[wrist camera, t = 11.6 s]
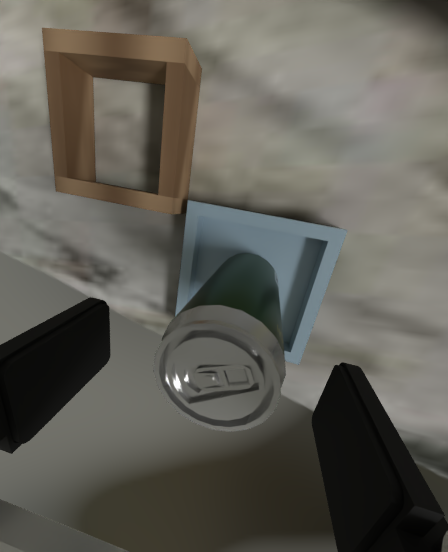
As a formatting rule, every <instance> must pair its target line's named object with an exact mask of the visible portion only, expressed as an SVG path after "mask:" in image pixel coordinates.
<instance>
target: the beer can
mask: <svg viewBox="0 0 448 552" xmlns="http://www.w3.org/2000/svg"><path fill="white" fill-rule="evenodd" d="M153 371H154V374H155V378H156V382H157V386H158V388H159V389H160V391H161V393H162V394H163V396H164V398H165V399H166V401H167V402H168V403H169V404H170V405H171V406H172V407H173V408H174V409H175V410H176V411H177V412H178V413H179V414H181V415H182V416H184V417H186V418H187V419H189V420H190V421H192V422H194V423H196V424H198V425H201V426H204V427H207V428H210V429H213V430H221V431H231V432H232V431H239V430H246V429H250V428H252V427H254V426H256V425H258V424H260V423H262V422H264V421H265V420H266V419H267V418H268V417H269V416H270V415H271V414H272V413H273V412H274V411H275V409H276V406H277V404H278V401H279V398H280V395H281V387H282V384H283V381H284V378H285V376H286V369H285V354H284V343H283V332H282V321H281V309H280V298H279V287H278V277H277V274H276V272H275V270H274V268H273V267H272V265H271V264H270V263H269V262H268V261H267V260H265V259H264V258H262V257H260V256H259V255H255V254H251V253H242V254H237V255H234V256H232V257H230V258H228V259H227V260H226V261H225V262H224V263H223V264H222V265H221V266H220V267H219V268H218V269H217V270H216V271H215V273H214V274H213V275H212V276H211V277H210V278H209V279H208V280H207V282H206V283H205V284H204V285H203V286H202V287H201V288H200V289H199V291H198V292H197V293H196V294H195V295H194V296H193V297H192V298H191V300H190V301H189V302H188V303H187V304H186V305H185V306H184V307H183V309H182V310H181V311H180V312H179V313H178V314H177V315H176V316H175V318H174V319H173V320H172V321H171V322H170V323H169V325H168V327H167V329H166V331H165V333H164V335H163V337H162V342H161V344H160V346H159V348H158V350H157V352H156V353H155V359H154V370H153Z"/></svg>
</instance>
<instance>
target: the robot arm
mask: <svg viewBox="0 0 448 552" xmlns="http://www.w3.org/2000/svg"><path fill="white" fill-rule="evenodd" d="M109 358H110V321H109V306H108V305H107V303H106V302H105V301H104V300H100V299H96V298H88V299H86V300H84V301H82V302H80V303H78V304H77V305H75V306H73V307H71V308H69V309H67V310H66V311H63V312H61V313H60V314H58V315H56V316H54V317H52V318H50V319H48V320H46V321H45V322H43V323H41V324H39V325H37V326H35V327H34V328H31V329H30V330H28V331H26V332H24V333H22V334H20V335H18V336H16V337H14V338H13V339H11V340H9V341H7V342H5V343H3V344H1V345H0V450H3V451H6V452H8V453H11V454H12V453H13V452H14V451H15V450H16V449H17V448H18V447H19V446H20V445H21V444H24V443H26V442H28V441H29V440H31V439H32V438H33V437H34V436H35V435H36V434H37V433H38V432H39V431H40V430H41V429H42V428H43V427H44V426H45V425H46V424H47V423H48V422H49V421H50V420H51V419H52V418H53V417H54V416H55V415H56V414H57V413H58V412H59V411H60V410H61V409H62V408H63V407H64V406H65V405H66V404H67V403H68V402H69V401H70V400H71V399H72V398H73V397H74V396H75V395H76V394H77V393H78V392H79V391H80V390H81V389H82V388H83V387H84V386H85V384H87V383H88V382H89V381H90V380H91V379H92V378H93V377H94V376H95V375H96V374H97V373H98V372H99V371H100V370H101V369H102V367H104V366H105V365H106V364H107V362H108V361H109ZM312 427H313V432H314V437H315V442H316V447H317V452H318V457H319V462H320V466H321V471H322V476H323V481H324V486H325V491H326V496H327V501H328V506H329V511H330V516H331V520H332V525H333V530H334V535H335V540H336V545H337V549H338V552H448V524H447V522H446V520H445V518H444V516H445V515H444V513H443V511H442V510H441V508H440V506H439V504H438V502H437V501H436V499H435V497H434V495H433V494H432V492H431V490H430V488H429V487H428V485H427V483H426V481H425V480H424V478H423V476H422V474H421V473H420V471H419V469H418V467H417V466H416V464H415V462H414V460H413V458H412V457H411V455H410V453H409V451H408V450H407V448H406V446H405V444H404V443H403V441H402V439H401V437H400V436H399V434H398V432H397V430H396V429H395V427H394V425H393V423H392V422H391V420H390V418H389V416H388V415H387V413H386V411H385V409H384V408H383V406H382V404H381V402H380V401H379V399H378V397H377V395H376V394H375V392H374V390H373V388H372V387H371V385H370V383H369V381H368V380H367V378H366V376H365V374H364V373H363V371H362V369H361V368H360V367H358V366H355V365H351V364H347V363H340V365H335V366H334V368H333V370H332V372H331V375H330V377H329V379H328V381H327V384H326V386H325V388H324V390H323V393H322V395H321V397H320V399H319V402H318V404H317V406H316V408H315V411H314V413H313V416H312ZM0 552H129V551H127V550H124V549H121V548H119V547H117V546H114V545H112V544H109V543H107V542H104V541H102V540H100V539H97V538H94V537H92V536H90V535H87V534H85V533H82V532H80V531H78V530H75V529H73V528H70V527H68V526H65V525H63V524H60V523H58V522H55V521H53V520H50V519H48V518H46V517H43V516H41V515H38V514H35V513H33V512H30V511H28V510H26V509H23V508H21V507H18V506H16V505H13V504H11V503H8V502H6V501H3V500H1V499H0Z"/></svg>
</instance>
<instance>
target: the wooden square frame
mask: <svg viewBox="0 0 448 552" xmlns="http://www.w3.org/2000/svg"><path fill="white" fill-rule="evenodd" d="M42 33H43V45H44V57H45V68H46V80H47V92H48V104H49V115H50V127H51V139H52V151H53V162H54V174H55V186H56V191H58V192H63V193H68V194H73V195H78V196H83V197H88V198H93V199H98V200H103V201H108V202H113V203H118V204H123V205H128V206H133V207H138V208H143V209H148V210H153V211H158V212H163V213H168V214H186V210H187V201H188V192H189V183H190V173H191V164H192V155H193V146H194V136H195V127H196V118H197V109H198V100H199V90H200V81H201V72H202V68H201V66H200V64H199V62H198V60H197V58H196V56H195V54H194V52H193V50H192V48H191V46H190V44H189V42H188V40H187V38H175V37H161V36H147V35H134V34H120V33H106V32H93V31H79V30H66V29H52V28H42ZM93 77H97V78H107V79H116V80H125V81H134V82H144V83H153V84H162V85H165V98H164V113H163V129H162V144H161V160H160V175H159V191H158V194H156V193H150V192H145V191H140V190H134V189H129V188H124V187H118V186H113V185H108V184H102V183H97V182H96V175H95V137H94V100H93Z"/></svg>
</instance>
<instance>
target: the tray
mask: <svg viewBox="0 0 448 552" xmlns="http://www.w3.org/2000/svg"><path fill="white" fill-rule="evenodd" d="M346 233H347V230H345V229H341V228H337V227H332V226H327V225H321V224H316V223H311V222H305V221H300V220H295V219H289V218H284V217H279V216H273V215H268V214H263V213H257V212H252V211H247V210H241V209H236V208H230V207H225V206H220V205H214V204H209V203H204V202H198V201H190V200H188V204H187V213H186V222H185V232H184V241H183V250H182V259H181V268H180V277H179V287H178V296H177V305H176V314H175V316H176V315H177V314H178V313H179V312H180V311H181V310H182V309H183V307H184V306H185V305H186V304H187V303H188V302H189V301H190V300H191V298H192V297H193V296H194V295H195V294H196V293H197V292H198V291H199V289H200V288H201V287H202V286H203V285H204V284H205V283H206V282H207V280H208V279H209V278H210V277H211V276H212V275H213V274H214V273H215V271H216V270H217V269H218V268H219V267H220V266H221V265H222V264H223V263H224V262H225V261H226V260H227V259H228V258H230V257H232V256H234V255H237V254H242V253H251V254H255V255H259V256H260V257H262V258H264V259H265V260H267V261H268V262H269V263H270V264H271V265H272V267H273V268H274V270H275V272H276V274H277V277H278V287H279V298H280V309H281V321H282V332H283V343H284V354H285V361H288V362H291V363H295V364H298V365H299V363H300V361H301V358H302V355H303V352H304V349H305V347H306V344H307V341H308V338H309V336H310V333H311V330H312V327H313V325H314V322H315V319H316V316H317V314H318V311H319V308H320V305H321V302H322V300H323V297H324V294H325V291H326V289H327V286H328V283H329V280H330V278H331V275H332V272H333V269H334V266H335V264H336V261H337V258H338V255H339V253H340V250H341V247H342V244H343V242H344V239H345V236H346Z"/></svg>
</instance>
